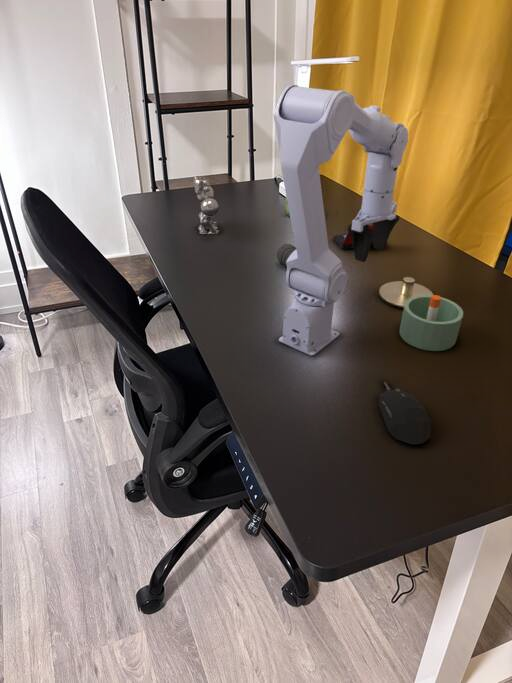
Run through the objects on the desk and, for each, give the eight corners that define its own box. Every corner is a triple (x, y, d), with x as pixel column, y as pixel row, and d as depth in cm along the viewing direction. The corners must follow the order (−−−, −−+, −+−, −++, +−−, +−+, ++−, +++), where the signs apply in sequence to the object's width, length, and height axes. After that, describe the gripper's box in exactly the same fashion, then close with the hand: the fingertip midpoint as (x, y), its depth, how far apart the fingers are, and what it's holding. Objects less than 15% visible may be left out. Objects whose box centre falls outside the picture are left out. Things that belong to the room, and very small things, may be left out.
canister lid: (418, 317, 103) (423, 298, 101) (368, 299, 109) (371, 281, 107) (441, 296, 111) (446, 278, 108) (393, 280, 117) (396, 262, 114)
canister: (442, 358, 92) (449, 330, 88) (389, 337, 97) (394, 310, 94) (464, 333, 98) (471, 307, 95) (413, 315, 104) (419, 289, 101)
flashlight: (274, 264, 124) (274, 243, 121) (293, 260, 126) (294, 239, 123) (305, 290, 112) (306, 268, 109) (325, 286, 114) (327, 264, 111)
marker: (430, 336, 96) (439, 300, 92) (421, 333, 97) (429, 297, 93) (434, 332, 98) (443, 296, 93) (425, 329, 99) (433, 293, 94)
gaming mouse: (402, 382, 86) (406, 363, 84) (436, 445, 74) (442, 426, 71) (366, 384, 85) (369, 365, 83) (395, 449, 73) (399, 429, 71)
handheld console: (373, 234, 139) (377, 208, 135) (391, 250, 131) (396, 223, 127) (331, 239, 137) (333, 212, 133) (347, 255, 128) (350, 227, 124)
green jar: (282, 213, 152) (283, 187, 148) (295, 211, 154) (296, 185, 150) (289, 218, 149) (290, 191, 145) (303, 216, 151) (304, 189, 146)
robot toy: (223, 241, 135) (221, 186, 127) (200, 243, 134) (197, 187, 126) (215, 221, 147) (213, 169, 139) (194, 223, 146) (191, 171, 137)
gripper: (379, 203, 90) (369, 271, 97) (414, 184, 99) (403, 248, 107) (345, 194, 93) (338, 261, 101) (382, 177, 103) (373, 239, 110)
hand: (369, 254), depth 104 cm, fingers open, 7 cm apart
